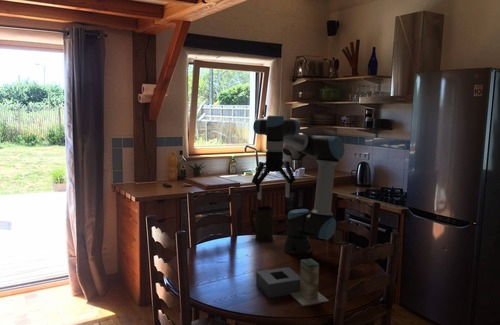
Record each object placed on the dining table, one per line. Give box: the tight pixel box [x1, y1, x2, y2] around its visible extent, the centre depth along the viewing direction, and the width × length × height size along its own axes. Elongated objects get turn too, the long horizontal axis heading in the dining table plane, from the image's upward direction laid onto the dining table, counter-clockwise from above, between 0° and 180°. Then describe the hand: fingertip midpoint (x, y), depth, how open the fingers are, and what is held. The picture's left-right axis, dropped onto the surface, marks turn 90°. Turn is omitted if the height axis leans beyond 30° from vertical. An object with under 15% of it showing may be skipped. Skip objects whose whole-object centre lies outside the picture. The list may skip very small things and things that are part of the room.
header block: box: [255, 266, 300, 299], centre depth 179 cm, size 16×14×6 cm
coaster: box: [290, 291, 329, 307], centre depth 171 cm, size 12×12×1 cm
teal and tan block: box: [299, 258, 320, 300], centre depth 170 cm, size 5×6×15 cm
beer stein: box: [248, 205, 274, 243], centre depth 245 cm, size 15×11×20 cm
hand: (273, 198), depth 182 cm, fingers open, 13 cm apart
